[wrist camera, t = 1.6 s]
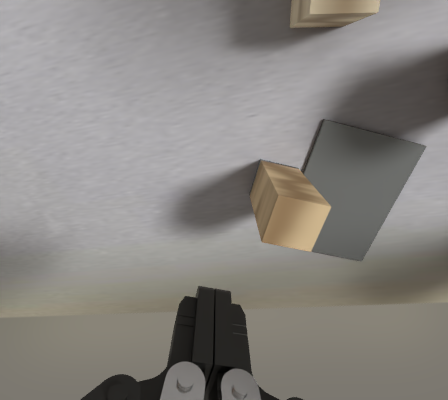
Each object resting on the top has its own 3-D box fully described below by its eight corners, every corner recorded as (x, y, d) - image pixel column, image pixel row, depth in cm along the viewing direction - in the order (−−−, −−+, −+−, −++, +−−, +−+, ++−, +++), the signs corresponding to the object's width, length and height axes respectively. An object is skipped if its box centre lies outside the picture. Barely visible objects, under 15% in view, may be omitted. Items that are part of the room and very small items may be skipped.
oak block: (298, 168, 31) (331, 206, 21) (285, 202, 32) (310, 251, 23) (260, 159, 30) (278, 195, 21) (249, 194, 32) (261, 242, 23)
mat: (423, 145, 30) (426, 146, 29) (360, 259, 36) (361, 261, 36) (323, 119, 28) (325, 119, 28) (276, 242, 35) (276, 244, 34)
